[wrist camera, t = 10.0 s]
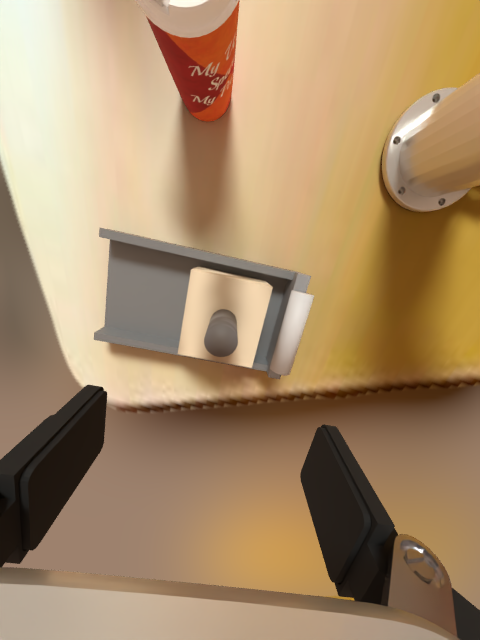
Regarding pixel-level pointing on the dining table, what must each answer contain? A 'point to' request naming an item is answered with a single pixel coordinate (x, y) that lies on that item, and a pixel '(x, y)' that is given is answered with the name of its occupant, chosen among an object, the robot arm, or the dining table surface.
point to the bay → (171, 292)
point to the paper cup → (197, 49)
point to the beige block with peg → (223, 316)
